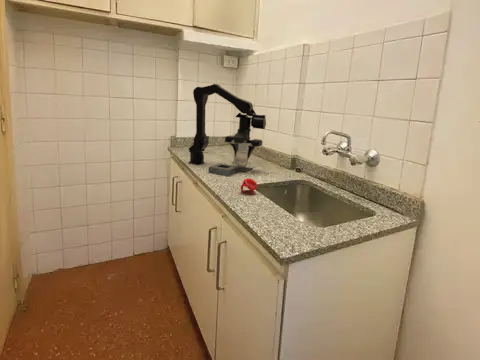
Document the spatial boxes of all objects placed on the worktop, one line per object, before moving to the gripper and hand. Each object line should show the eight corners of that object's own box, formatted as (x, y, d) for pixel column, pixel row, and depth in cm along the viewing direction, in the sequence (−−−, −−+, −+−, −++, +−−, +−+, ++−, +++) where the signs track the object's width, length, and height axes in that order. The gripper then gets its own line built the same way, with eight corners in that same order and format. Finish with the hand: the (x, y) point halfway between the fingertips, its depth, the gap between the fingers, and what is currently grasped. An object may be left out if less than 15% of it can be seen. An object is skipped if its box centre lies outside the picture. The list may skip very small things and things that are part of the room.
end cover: (233, 165, 161) (234, 151, 159) (238, 163, 166) (239, 150, 164) (245, 167, 158) (246, 153, 156) (249, 165, 164) (250, 151, 162)
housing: (208, 172, 151) (208, 166, 150) (218, 168, 161) (219, 163, 160) (229, 176, 147) (229, 170, 146) (238, 172, 157) (238, 166, 156)
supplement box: (245, 165, 174) (247, 142, 171) (232, 163, 175) (234, 141, 172) (248, 162, 181) (250, 141, 178) (235, 161, 182) (237, 139, 179)
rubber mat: (229, 169, 160) (230, 168, 160) (236, 166, 168) (237, 165, 168) (246, 172, 157) (246, 171, 157) (252, 169, 165) (252, 168, 165)
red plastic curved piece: (254, 189, 118) (261, 178, 122) (241, 182, 119) (247, 171, 123) (250, 200, 125) (256, 190, 128) (237, 193, 126) (244, 183, 129)
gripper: (220, 126, 153) (219, 157, 157) (256, 130, 147) (253, 162, 151) (230, 124, 163) (228, 154, 167) (264, 128, 157) (261, 159, 161)
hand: (242, 157), depth 161 cm, fingers closed on end cover, 6 cm apart
